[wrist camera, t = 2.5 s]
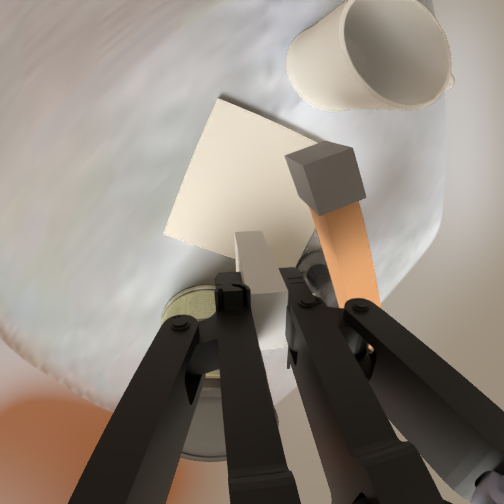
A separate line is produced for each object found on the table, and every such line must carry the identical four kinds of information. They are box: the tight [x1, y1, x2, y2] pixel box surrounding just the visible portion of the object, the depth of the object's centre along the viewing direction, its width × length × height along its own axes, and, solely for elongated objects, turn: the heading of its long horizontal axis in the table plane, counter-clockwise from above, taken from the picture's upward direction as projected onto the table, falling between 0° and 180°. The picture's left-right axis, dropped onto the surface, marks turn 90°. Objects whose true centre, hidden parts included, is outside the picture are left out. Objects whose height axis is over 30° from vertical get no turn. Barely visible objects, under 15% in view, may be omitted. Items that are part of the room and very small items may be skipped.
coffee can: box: [161, 285, 279, 462], centre depth 28 cm, size 10×10×14 cm
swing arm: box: [284, 141, 381, 351], centre depth 18 cm, size 17×5×4 cm, turn 21°
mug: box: [286, 0, 455, 112], centre depth 20 cm, size 12×8×12 cm
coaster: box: [164, 99, 318, 268], centre depth 29 cm, size 13×13×1 cm
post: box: [296, 251, 339, 308], centre depth 27 cm, size 4×4×12 cm
